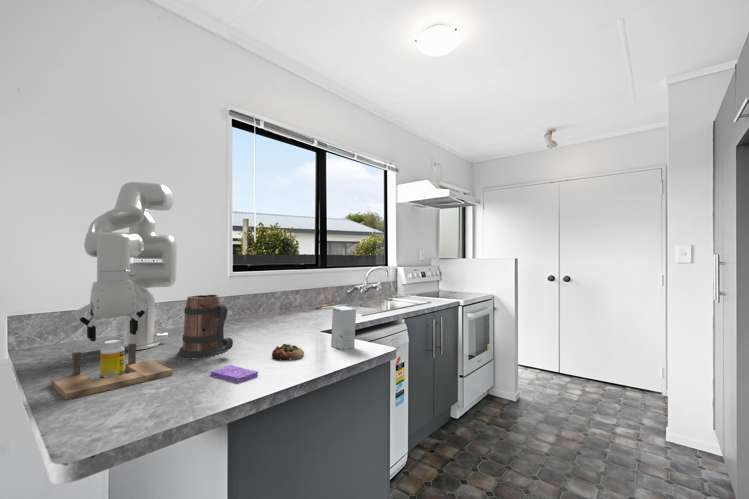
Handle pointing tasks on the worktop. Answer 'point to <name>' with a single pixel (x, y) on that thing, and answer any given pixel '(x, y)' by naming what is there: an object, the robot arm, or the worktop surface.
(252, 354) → the worktop surface
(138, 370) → the shelf board
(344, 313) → the skincare box
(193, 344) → the tankard
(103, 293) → the robot arm
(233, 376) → the sponges
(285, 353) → the bread roll
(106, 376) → the supplement bottle
